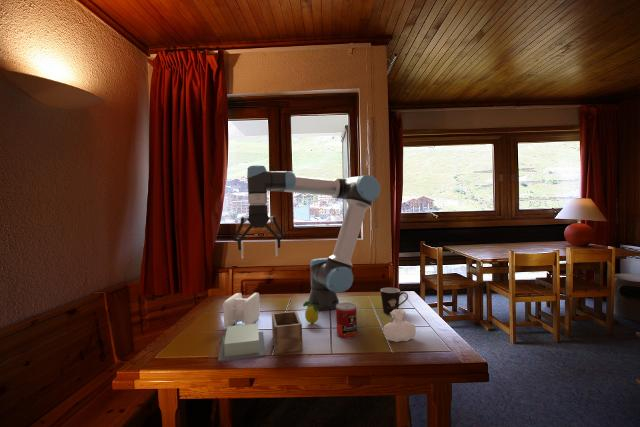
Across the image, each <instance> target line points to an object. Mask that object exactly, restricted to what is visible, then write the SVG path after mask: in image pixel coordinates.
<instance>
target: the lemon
mask: <svg viewBox="0 0 640 427" xmlns="http://www.w3.org/2000/svg"><path fill="white" fill-rule="evenodd" d="M310 303H311V306H310V307H308V305H310ZM302 306H303V307H307V308H306V310H305V313H304V316H305V317H304V318H305V320H306V321H307V322H308V323H310V324H311V325H313V324H314V323H317V321H318V320H319V310H317V308H316V307H315V306H314V305H313V306H312V300H311V302H308V300H306V301H305V302H303V305H302Z"/></svg>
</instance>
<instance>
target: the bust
mask: <svg viewBox="0 0 640 427" xmlns="http://www.w3.org/2000/svg"><path fill="white" fill-rule="evenodd" d="M405 315H406V311H403V310H401V309H399V308H398V309H394V310H393V311H392V312H390V316H391V318H392V319H393V321H391V322H388V323H387V324H386V323H385V325H384V326H383V328H382V331H383V334H384V336H385V338H386V340H388V341H391V342H395V343H398V342H408V341H411V340H413V339H414V338H415V337H416V330H417V328H416V325H415V324H414V323H412V322H409V321H406V320H405V321H404V320H403V319H404V317H405Z"/></svg>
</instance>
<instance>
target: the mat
mask: <svg viewBox="0 0 640 427" xmlns="http://www.w3.org/2000/svg"><path fill="white" fill-rule="evenodd" d="M258 334H259V353H251V354H243V355H235V356H226V357H225V352H224V342H225V337H226V335H222V339H221V344H220V349H219V354H218V359H217V362H218V363H221V362H228V361H229V362H230V361H236V360H237V361H238V360H239V361H240V360H247V359H252V358H254V359H255V358H262V357H266V348H265V338H264V331H258Z"/></svg>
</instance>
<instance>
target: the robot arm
mask: <svg viewBox="0 0 640 427" xmlns="http://www.w3.org/2000/svg"><path fill="white" fill-rule="evenodd" d="M246 172H247V176H246V179H247V199H248V201H247V202H248V206H247V207H248V217H243V216H242V217H241V218H240V224H239V226H238V228H237V229H236V231H235V233H234V236H233V238H232V240H233V241H234V242H237V250H238V251H241V252H240V253H241V254H240V256H241V259H242V260H244V242H243V241H242V240H244V238H245V237H246V236H247V234H248V233H249V232H250V231H251V230H252V228H254V229H258V228H260V229H263V228H266V229H267V231H269V232H270V233H271V234H272V235H273V237H275V240H274V244H275V245H274V247H275V248H274V250H275V252H274V253H275V258H276V257H277V258H278V257H279V252H278V251H279V250H278V249H280V248H281V240H282V239H284V238H285V234H284V233H283V231H282V229H281V227H280V226H279V223H278V222H277V216H275V215H272V216H269V215H268V213H269V212H268V210H269V209H268V205H267V203H268V192H284V193H285V192H286V193H298V194H307V195H318V196H319V195H320V196H321V195H322V196H331V197H332V198H333V199H338V200H339V199H340V200H345V201H346V202H347V206H346V207H347V208H346V211H345V214H344V216H343V221H342V223H341V226H340V229H339V233H338V235H337V239H336V242H335V246H334V248H333V249H334V250H333V252H332V254H331V255H329V256H328V257H323V258H322V257H320V258H314V259H311V260H310V263H309V264H310V265H309V268H310V269H309V270H310V293H309V295H308V300H307V301H308V302H311V300H312V306H313V305H314V306H315V307H316V308H317V310H318V311H331V310H334V309H335V310H336V305H337V304H339V303H340V301H339V300H340V299H339V297H338V294H340V293H344V292H346V291H348V290H349V289H350V288H351V286H352V285H353V282H354V275H353V271H352V269H353V266H354V265H353V262H352V258H353V254H354V250H355V249H356V248H355V247H356V244H357V242H358V238H359V234H360V231H361V228H362V225H363V223H364V222H363V221H364V219H365V215H366V212H367V210H369V209H371V207H372V204H373V201H375V200H376V199H378V198H379V196H380V193H381V186H380V183H379V181H378V179H377V178H376V177H375V176H373V175H370V174H362V175H358V176H351V177H346V178H338V177H337V178H336V177H335V178H334V179H325V178H315V177H307V176H296V175H295V174H296V173H294V172H293V171H287V170H285V171H283V170H280V171H279V170H276V171H275V170H274V171H272V170H271V171H270V170H267V167H266V166H265V165H250V166H248V168H247V171H246ZM269 221H271V222H272V223H273V225H274V226H275V229H276V231H277V232H278V234H279V235H278V234H277V233H276V232H275V231H274V230H273V229H272V228H271V227H270V226H269V225H268V224H267V223H268V222H269ZM246 222H248V223H249V226H248V227H247V228H246V229H245V230H244V231H243V232H242V234H241V235H240V233H241V230H242V228H243V226H244V224H245V223H246ZM239 235H240V236H239ZM238 236H239V237H238ZM310 306H311V303H310V305H308V306H307V308H308V307H310Z"/></svg>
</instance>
